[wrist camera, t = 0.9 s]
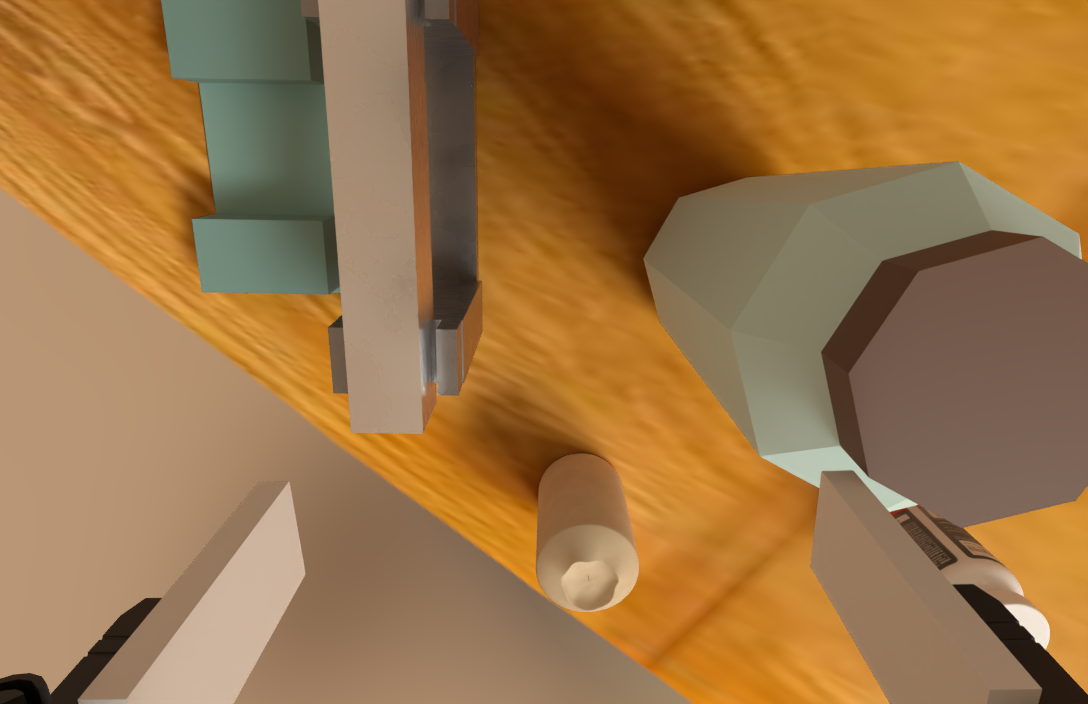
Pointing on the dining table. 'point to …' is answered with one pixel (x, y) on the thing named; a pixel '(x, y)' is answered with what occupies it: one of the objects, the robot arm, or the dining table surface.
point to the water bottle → (889, 332)
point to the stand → (444, 190)
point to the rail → (381, 208)
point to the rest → (260, 144)
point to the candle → (584, 535)
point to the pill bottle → (970, 565)
